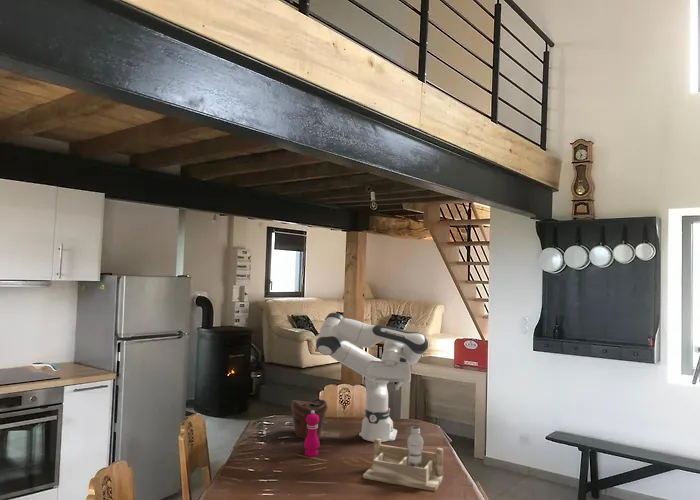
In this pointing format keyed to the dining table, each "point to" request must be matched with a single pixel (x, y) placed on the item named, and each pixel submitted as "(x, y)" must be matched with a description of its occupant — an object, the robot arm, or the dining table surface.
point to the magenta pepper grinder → (312, 435)
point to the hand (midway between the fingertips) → (386, 388)
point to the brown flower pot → (303, 409)
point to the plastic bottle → (415, 448)
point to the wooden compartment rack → (405, 467)
